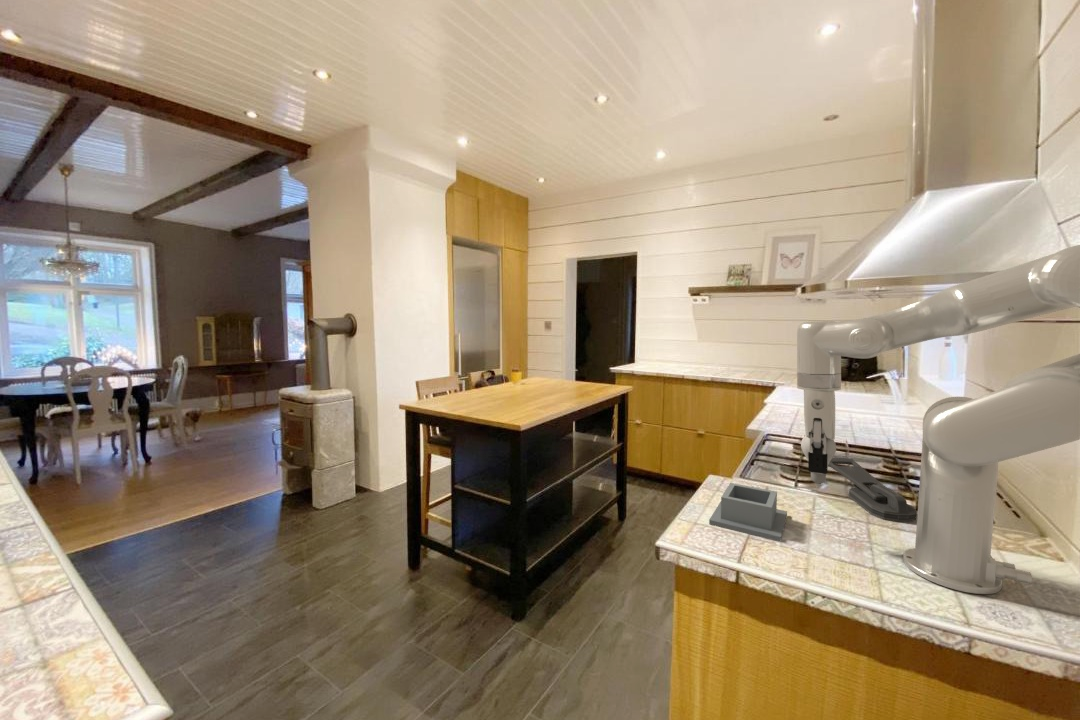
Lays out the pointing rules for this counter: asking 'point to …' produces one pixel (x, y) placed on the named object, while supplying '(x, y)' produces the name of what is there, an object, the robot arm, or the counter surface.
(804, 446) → the lightbulb
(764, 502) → the socket holder
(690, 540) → the counter surface
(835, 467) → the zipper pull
